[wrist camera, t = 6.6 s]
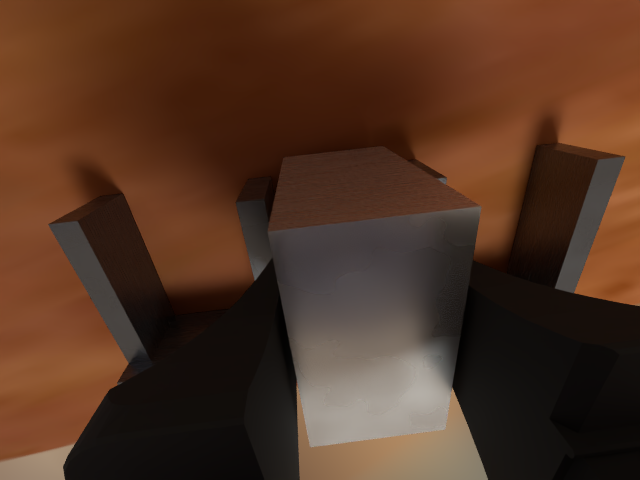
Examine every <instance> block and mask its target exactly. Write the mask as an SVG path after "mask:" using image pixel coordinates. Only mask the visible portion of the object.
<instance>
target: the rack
mask: <svg viewBox="0 0 640 480" xmlns="http://www.w3.org/2000/svg"><path fill="white" fill-rule="evenodd" d="M624 159H625V156H621V155H616V154H611V153H606V152H601V151H596V150H591V149H586V148H581V147H576V146H571V145H567V144H562V143H554V144H546V145H537V148H536V152H535V157H534V161H533V165H532V169H531V173H530V178H529V182H528V186H527V190H526V195H525V199H524V203H523V207H522V211H521V216H520V220H519V224H518V228H517V233H516V237H515V241H514V245H513V249H512V254H511V258H510V262H509V266H508V271H507V274H509V275H512V276H515V277H518V278H521V279H524V280H527V281H530V282H534V283H537V284H540V285H544V286H548V287H551V288H555V289H559V290H563V291H567V292H571V293H574V291H575V289H576V286H577V283H578V281H579V278H580V275H581V273H582V270H583V268H584V265H585V262H586V260H587V257H588V254H589V252H590V249H591V246H592V244H593V241H594V238H595V236H596V233H597V231H598V228H599V225H600V223H601V220H602V217H603V215H604V212H605V209H606V207H607V204H608V202H609V199H610V196H611V194H612V191H613V188H614V186H615V183H616V180H617V178H618V175H619V172H620V170H621V167H622V165H623V162H624ZM408 162H410V163H412V164H413V165H415V166H417V167H418V168H420V169H421V170H423V171H425V172H426V173H428V174H430V175H431V176H433V177H434V178H436V179H438V180H439V181H441V182H443V183H444V184H446V180H447V177H445V176H443V175H442V174H440V173H438V172H436V171H435V170H433V169H431V168H430V167H428V166H426V165H425V164H423V163H421V162H419V161H418V160H408ZM274 199H275V197H274V192H273V186H272V180H271V176H270V177H262V178H253V179H248V180H247V182H246V184H245V186H244V188H243V190H242V191H241V193H240V195H239V197H238V199H237V201H236V206H237V210H238V214H239V218H240V222H241V227H242V231H243V235H244V239H245V243H246V247H247V251H248V255H249V259H250V263H251V267H252V271H253V275H254V279H255V280H256V279H257V277H258V276H259V275H260V274H261V272H262V271H263V270H264V268H265V267H266V265H267V264H268V262H269V261H270V260H271V258H272V252H271V247H270V242H269V237H268V232H267V231H268V227H269V222H270V217H271V213H272V208H273V203H274ZM48 225H49V227H50V228H51V230H52V232H53V234H54V235H55V237H56V239H57V240H58V242H59V244H60V246H61V247H62V249H63V251H64V253H65V254H66V256H67V258H68V259H69V261H70V263H71V265H72V266H73V268H74V270H75V271H76V273H77V275H78V277H79V278H80V280H81V282H82V283H83V285H84V287H85V289H86V290H87V292H88V294H89V296H90V297H91V299H92V301H93V302H94V304H95V306H96V308H97V309H98V311H99V313H100V314H101V316H102V318H103V320H104V321H105V323H106V325H107V327H108V328H109V330H110V332H111V333H112V335H113V337H114V339H115V340H116V342H117V344H118V345H119V347H120V349H121V351H122V352H123V354H124V356H125V357H126V359H127V361H128V363H129V364H128V366H127V367H126V369H125V371H124V372H123V374H122V376H121V377H120V379H119V380H118V382H117V384H118V385H119V384H121V383H123V382H125V381H126V380H128V379H130V378H132V377H133V376H135V375H137V374H139V373H141V372H142V371H144V370H146V369H148V368H149V367H151V366H153V365H155V364H156V363H158V362H159V361H161V360H163V359H164V358H166V357H167V356H169V355H170V354H172V353H174V352H175V351H177V350H178V349H180V348H181V347H182V346H184V345H185V344H187V343H188V342H190V341H191V340H192V339H194V338H195V337H196V336H198V335H199V334H200V333H202V332H203V331H204V330H205V329H207V328H208V327H209V326H210V325H212V324H213V323H214V322H216V321H217V320H218V319H219V318H220V317H221V316H222V315H223V314H225V313H226V312H227V311H228V310H229V309H225V310H217V311H208V312H200V313H192V314H184V315H176V316H175V314H174V312H173V309H172V307H171V305H170V302H169V300H168V298H167V295H166V293H165V291H164V288H163V286H162V284H161V281H160V279H159V277H158V274H157V272H156V270H155V267H154V265H153V263H152V260H151V258H150V256H149V253H148V251H147V249H146V246H145V244H144V242H143V239H142V237H141V235H140V232H139V230H138V228H137V225H136V223H135V221H134V218H133V216H132V214H131V211H130V209H129V207H128V204H127V202H126V200H125V197H124V195H123V194H116V195H107V196H100V197H98V198H96V199H94V200H92V201H90V202H89V203H87V204H85V205H83V206H81V207H79V208H77V209H76V210H74V211H72V212H70V213H68V214H66V215H65V216H63V217H61V218H59V219H57V220H55V221H54V222H52V223H50V224H48Z"/></svg>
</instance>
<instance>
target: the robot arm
mask: <svg viewBox="0 0 640 480" xmlns="http://www.w3.org/2000/svg"><path fill="white" fill-rule="evenodd" d="M296 382H297V378H296V373H295V368H294V363H293V358H292V353H291V348H290V343H289V338H288V333H287V328H286V322H285V317H284V312H283V307H282V302H281V297H280V292H279V287H278V282H277V277H276V272H275V267H274V262H273V257H272V258H271V260H270V261H269V262H268V264H267V265H266V267H265V268H264V270H263V271H262V272H261V274H260V275H259V276H258V277H257V279H256V280H255V281H254V283H253V284H252V285H251V286H250V288H249V289H248V290H247V291H246V292H245V293H244V294H243V296H242V297H241V298H240V299H239V300H238V301H237V302H236V303H235V304H234V305H233V306H232V307H231V308H230V309H229V310H228V311H227V312H226V313H225V314H223V315H222V316H221V317H220V318H219V319H218V320H217V321H216V322H214V323H213V324H212V325H210V326H209V327H208V328H207V329H205V330H204V331H203V332H202V333H200V334H199V335H198V336H196V337H195V338H194V339H192V340H191V341H190V342H188V343H187V344H185V345H184V346H182V347H181V348H180V349H178V350H177V351H175V352H174V353H172V354H170V355H169V356H167V357H166V358H164V359H163V360H161V361H159V362H158V363H156V364H155V365H153V366H151V367H149V368H148V369H146V370H144V371H142V372H141V373H139V374H137V375H135V376H133V377H132V378H130V379H128V380H126V381H125V382H123V383H121V384H119V385H117V386H115V387H114V388H112V389H110V390H109V391H108V393H107V394H106V396H105V397H104V399H103V400H102V402H101V404H100V405H99V407H98V408H97V410H96V412H95V413H94V415H93V416H92V418H91V420H90V421H89V423H88V424H87V426H86V428H85V429H84V431H83V432H82V434H81V436H80V437H79V439H78V440H77V442H76V444H75V445H74V447H73V448H72V450H71V452H70V453H69V455H68V457H67V459H66V461H65V464H64V466H63V469H64V476H65V480H300V479H299V478H300V477H299V453H298V427H297V392H296V391H297V390H296ZM452 388H453V390H454V392H455V395H456V397H457V399H458V402H459V404H460V407H461V409H462V412H463V414H464V417H465V419H466V422H467V424H468V427H469V429H470V432H471V434H472V437H473V440H474V442H475V445H476V448H477V450H478V453H479V455H480V458H481V461H482V463H483V466H484V469H485V472H486V475H487V477H488V480H640V306H635V305H629V304H623V303H618V302H613V301H608V300H603V299H598V298H593V297H588V296H584V295H579V294H575V293H571V292H567V291H563V290H559V289H555V288H551V287H548V286H544V285H540V284H537V283H534V282H530V281H527V280H524V279H521V278H518V277H515V276H512V275H509V274H506V273H503V272H501V271H498V270H495V269H493V268H490V267H488V266H486V265H483V264H481V263H478V262H476V261H474V260H473V261H472V267H471V273H470V280H469V286H468V292H467V298H466V304H465V310H464V317H463V323H462V329H461V335H460V341H459V347H458V354H457V360H456V366H455V372H454V378H453V384H452Z"/></svg>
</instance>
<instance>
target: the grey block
mask: <svg viewBox="0 0 640 480" xmlns="http://www.w3.org/2000/svg"><path fill="white" fill-rule="evenodd" d="M480 212H481V206H480V205H478V204H477V203H475V202H474V201H472V200H470V199H469V198H467V197H465V196H464V195H462V194H461V193H459V192H457V191H456V190H454V189H452V188H451V187H449V186H447V185H446V184H444V183H443V182H441V181H439V180H438V179H436V178H434V177H433V176H431V175H430V174H428V173H426V172H425V171H423V170H421V169H420V168H418V167H417V166H415V165H413V164H412V163H410V162H408V161H407V160H405V159H403V158H402V157H400V156H399V155H397V154H395V153H394V152H392V151H390V150H389V149H387V148H386V147H384V146H378V147H369V148H361V149H352V150H343V151H334V152H325V153H317V154H308V155H299V156H290V157H283V162H282V166H281V171H280V176H279V180H278V185H277V190H276V194H275V199H274V203H273V208H272V213H271V217H270V222H269V227H268V231H267V232H268V237H269V242H270V247H271V252H272V257H273V262H274V267H275V272H276V277H277V282H278V287H279V292H280V297H281V302H282V307H283V312H284V317H285V322H286V328H287V333H288V338H289V343H290V348H291V353H292V358H293V363H294V368H295V373H296V378H297V383H298V388H299V392H300V397H301V403H302V408H303V413H304V418H305V423H306V428H307V433H308V438H309V443H310V447H316V446H323V445H331V444H339V443H346V442H353V441H361V440H369V439H376V438H384V437H392V436H399V435H406V434H414V433H422V432H430V431H437V430H444V429H445V428H446V421H447V415H448V409H449V403H450V397H451V391H452V384H453V378H454V372H455V366H456V360H457V354H458V347H459V341H460V335H461V329H462V323H463V317H464V310H465V304H466V298H467V292H468V286H469V280H470V273H471V267H472V261H473V255H474V249H475V243H476V236H477V230H478V224H479V218H480Z"/></svg>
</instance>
